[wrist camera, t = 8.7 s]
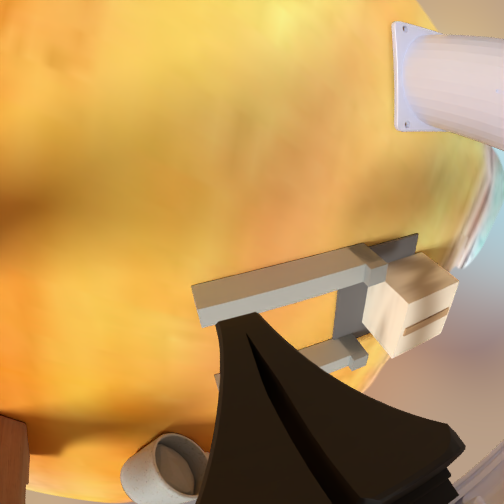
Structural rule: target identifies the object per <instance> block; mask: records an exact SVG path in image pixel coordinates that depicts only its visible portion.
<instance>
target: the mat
mask: <svg viewBox="0 0 504 504" xmlns="http://www.w3.org/2000/svg"><path fill="white" fill-rule="evenodd" d="M417 239H418V234H417V233H416V234H413V235H409V236H406V237H402V238H399V239H395V240H392V241H388V242H384V243H381V244H377V245H374V246H370V247H369V248H370V249H371V250H372V251H374V252H375V253H376V254H377V255H378V256H380V257H381V258H382V259H383V260H384V261H385V262H387V263H389V262H393V261H396V260H399V259H402V258H405V257H408V256H411V255H414V254H415V250H416V245H417ZM367 290H368V286H367V285H366V284H365V283H364V282H361V283H358V284H355V285H352V286H348V287H345V288H342V289H339V290H338V292H337V302H336V312H335V320H334V329H333V337H332V339H333V340H335V339H338V338H340V337H343V336H346V335H348V334H351V333H352V334H353V335H354V336H355V338H358V337H361V336H363V335H366V334H368V333H370V331H369V330H368V329H367V328H366V327H365V325H364V324H363V323H362V319H363V313H364V308H365V302H366V296H367Z"/></svg>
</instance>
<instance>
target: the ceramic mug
mask: <svg viewBox="0 0 504 504" xmlns="http://www.w3.org/2000/svg"><path fill="white" fill-rule="evenodd" d="M208 458H209V452H204V451H203V450H202V449H201V448H200V446H199V445H197V444H196V443H195V442H194V441H192V440H191V439H189V438H187V437H185V436H183V435H180V434H176V433H167V434H163V435H161V436H159V437H158V438H156V439H155V440H154V441H153V442H151V443H150V444H148V445H147V446H146V447H144V448H143V449H141V450H140V451H139V452H137V453H136V454H134V455H133V456H131V457H130V458H129V459H128V460H127V461H126V462H125V464H124V465H123V467H122V469H121V474H120V479H121V484H122V487H123V489H124V491H125V493H126V494H127V495H128V497H129V498H130V499H131V500H132V501H133V502H135V503H136V504H182V503H186V502H189V501H192V500H195V499H197V498H198V495H199V491H200V488H201V484H202V481H203V477H204V474H205V470H206V466H207V463H208Z"/></svg>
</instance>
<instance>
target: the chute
mask: <svg viewBox="0 0 504 504" xmlns="http://www.w3.org/2000/svg"><path fill="white" fill-rule="evenodd" d="M387 268H388V263H387V262H385V261H384V260H383V259H382V258H381V257H380V256H378V255H377V254H376V253H375V252H374V251H372V250H371V249H370V248H369V247H368V246H366V245H365V244H364V243H361V244H357V245H353V246H349V247H345V248H342V249H338V250H334V251H330V252H326V253H322V254H318V255H314V256H310V257H307V258H303V259H299V260H295V261H291V262H287V263H283V264H279V265H275V266H271V267H267V268H263V269H259V270H255V271H251V272H247V273H243V274H238V275H234V276H230V277H226V278H222V279H218V280H214V281H210V282H205V283H201V284H197V285H193V286H191V288H192V292H193V297H194V301H195V305H196V308H197V312H198V316H199V319H200V323H201V326H202V328H204V327H208V326H212V325H216V324H217V322H218V321H222V320H226V319H230V318H234V317H237V316H241V315H245V314H249V313H252V312H257V313H261V312H265V311H268V310H272V309H275V308H279V307H282V306H286V305H289V304H293V303H296V302H300V301H303V300H306V299H310V298H313V297H316V296H320V295H323V294H326V293H329V292H333V291H336V290H339V289H342V288H345V287H348V286H352V285H355V284H358V283H361V282H364V283H365V284H366V285H367V286H368V287H370V286H373V285H376V284H379V283H382V282H385V279H386V274H387ZM298 351H299V352H300V353H301V354H303V355H304V356H305V357H306V358H308V359H309V360H310V361H312V362H313V363H314V364H316V365H317V366H318V367H320V368H321V369H323V370H324V371H326V372H327V373H331V372H334V371H336V370H339V369H341V368H344V367H346V366H349V368H350V369H351V371H353V370H356V369H358V368H360V367H363V366H365V365H366V363H367V359H368V355H369V354H368V353H367V352H366V351H365V349H364V348H363V347H362V345H361V344H360V343H359V342H358V340H357V339H356V338H355V336H354V335H353V334H352V333H351V334H348V335H346V336H343V337H340V338H338V339H335V340H333V339H330V340H327V341H324V342H321V343H319V344H316V345H313V346H310V347H307V348H304V349H301V350H298ZM214 376H215V380H216V383H217V387H218V390H219V384H220V374H216V375H214Z"/></svg>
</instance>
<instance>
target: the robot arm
mask: <svg viewBox="0 0 504 504" xmlns="http://www.w3.org/2000/svg"><path fill="white" fill-rule="evenodd" d="M403 28H404V31H403ZM392 40H393V58H394V126H395V129H396V130H398V131H402V132H407V131H441V132H452V133H455V134H458V135H461V136H464V137H467V138H470V139H473V140H476V141H479V142H481V143H484V144H487V145H490V146H492V147H495V148H498V149H500V150H503V151H504V39H501V38H492V37H480V36H465V35H445V34H442V33H439V32H436V31H432V30H429V29H426V28H422V27H419V26H415V25H412V24H408V23H404V22H400V21H395V22H393V23H392ZM405 123H406V126H405ZM215 326H216V330H217V335H218V339H219V346H220V384H219V398H218V407H217V415H216V422H215V429H214V434H213V439H212V444H211V449H210V454H209V458H208V463H207V466H206V470H205V474H204V477H203V481H202V484H201V488H200V491H199V495H198V498H197V501H196V504H504V440H503V441H502V442H501V443H500V444H499V445H497V446H496V447H495V448H494V449H493V450H492V451H491V452H490V453H489V454H488V455H487V456H486V457H485V458H483V459H482V460H481V461H480V462H479V463H478V464H477V465H475V466H474V467H473V468H472V469H471V470H469V471H468V472H467V473H466V474H465V475H464V476H462V477H461V478H460V479H458V480H457V481H456V482H454V483H453V484H451V482H450V481H449V479H448V478H449V477H451V474H450V472H449V471H448V469H447V467H448V466H449V465H450V464H451V463H452V462H453V461H454V460H455V459H456V458H457V457H458V456H459V455H461V454H462V452H463V451H464V450H465V445H464V443H463V442H462V440H461V439H460V438H459V437H458V435H457V434H456V432H454V430H452V429H451V428H450V426H449V425H448V424H445V423H441V422H437V421H433V420H429V419H426V418H422V417H419V416H416V415H413V414H410V413H407V412H404V411H401V410H399V409H396V408H393V407H391V406H389V405H386V404H384V403H382V402H380V401H377V400H375V399H373V398H370V397H368V396H366V395H364V394H363V393H361V392H359V391H357V390H355V389H353V388H351V387H350V386H348V385H346V384H344V383H343V382H341V381H339V380H338V379H336V378H335V377H333V376H332V375H330V374H329V373H327V372H326V371H324V370H323V369H321V368H320V367H318V366H317V365H316V364H314V363H313V362H312V361H310V360H309V359H308V358H306V357H305V356H304V355H303V354H301V353H300V352H299V351H298V350H297V349H295V348H294V347H293V346H292V345H291V344H289V343H288V342H287V341H286V340H285V339H284V338H283V337H282V336H280V335H279V334H278V333H277V332H276V331H275V330H274V329H273V328H272V327H271V326H270V325H269V324H268V323H267V322H266V321H265V320H264V319H263V318H262V316H261V315H260V314H259V313H257V312H252V313H249V314H245V315H241V316H237V317H234V318H230V319H226V320H222V321H218V322H217V324H216V325H215Z"/></svg>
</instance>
